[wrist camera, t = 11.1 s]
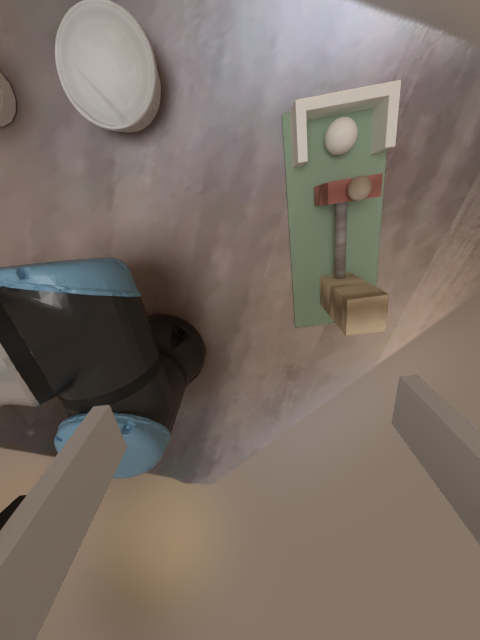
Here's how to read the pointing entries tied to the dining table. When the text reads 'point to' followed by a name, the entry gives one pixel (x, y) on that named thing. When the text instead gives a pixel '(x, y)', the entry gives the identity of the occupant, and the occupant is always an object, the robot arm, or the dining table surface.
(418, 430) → the robot arm
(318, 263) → the pitch
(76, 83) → the ramekin
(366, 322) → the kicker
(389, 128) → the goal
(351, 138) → the ball
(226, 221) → the dining table surface
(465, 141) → the dining table surface
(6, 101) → the white cup
